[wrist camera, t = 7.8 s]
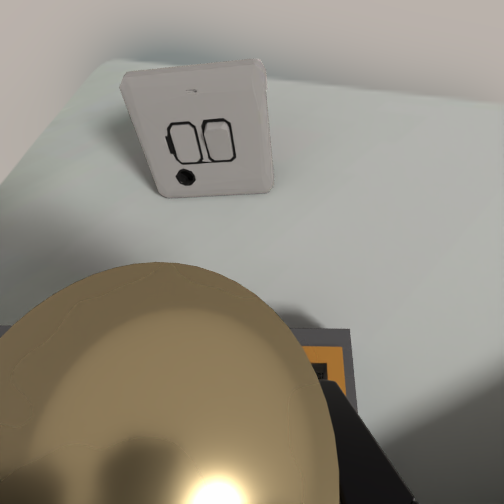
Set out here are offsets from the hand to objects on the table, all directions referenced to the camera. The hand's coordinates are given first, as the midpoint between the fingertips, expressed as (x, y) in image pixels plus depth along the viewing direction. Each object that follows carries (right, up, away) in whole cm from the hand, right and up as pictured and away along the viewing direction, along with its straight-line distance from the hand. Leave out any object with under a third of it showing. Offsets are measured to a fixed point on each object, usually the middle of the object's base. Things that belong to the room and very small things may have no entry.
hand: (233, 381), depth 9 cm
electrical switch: (-2, +10, +19) cm, 22 cm away
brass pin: (+1, -4, +5) cm, 7 cm away
